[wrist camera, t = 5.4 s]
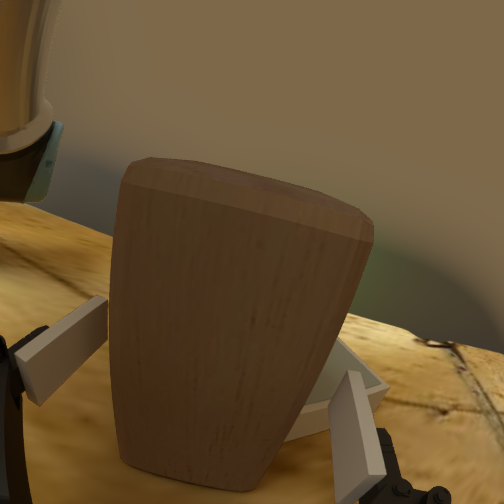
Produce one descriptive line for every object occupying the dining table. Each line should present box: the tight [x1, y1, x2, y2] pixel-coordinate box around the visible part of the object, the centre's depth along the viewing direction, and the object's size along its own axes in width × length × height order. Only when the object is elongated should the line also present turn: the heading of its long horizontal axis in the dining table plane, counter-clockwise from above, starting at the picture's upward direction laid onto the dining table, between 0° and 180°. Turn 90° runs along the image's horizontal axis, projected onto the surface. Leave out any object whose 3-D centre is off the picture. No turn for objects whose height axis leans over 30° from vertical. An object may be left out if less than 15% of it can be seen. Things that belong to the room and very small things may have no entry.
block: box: [109, 157, 374, 492], centre depth 17 cm, size 10×10×20 cm
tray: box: [284, 337, 390, 442], centre depth 28 cm, size 12×12×4 cm
